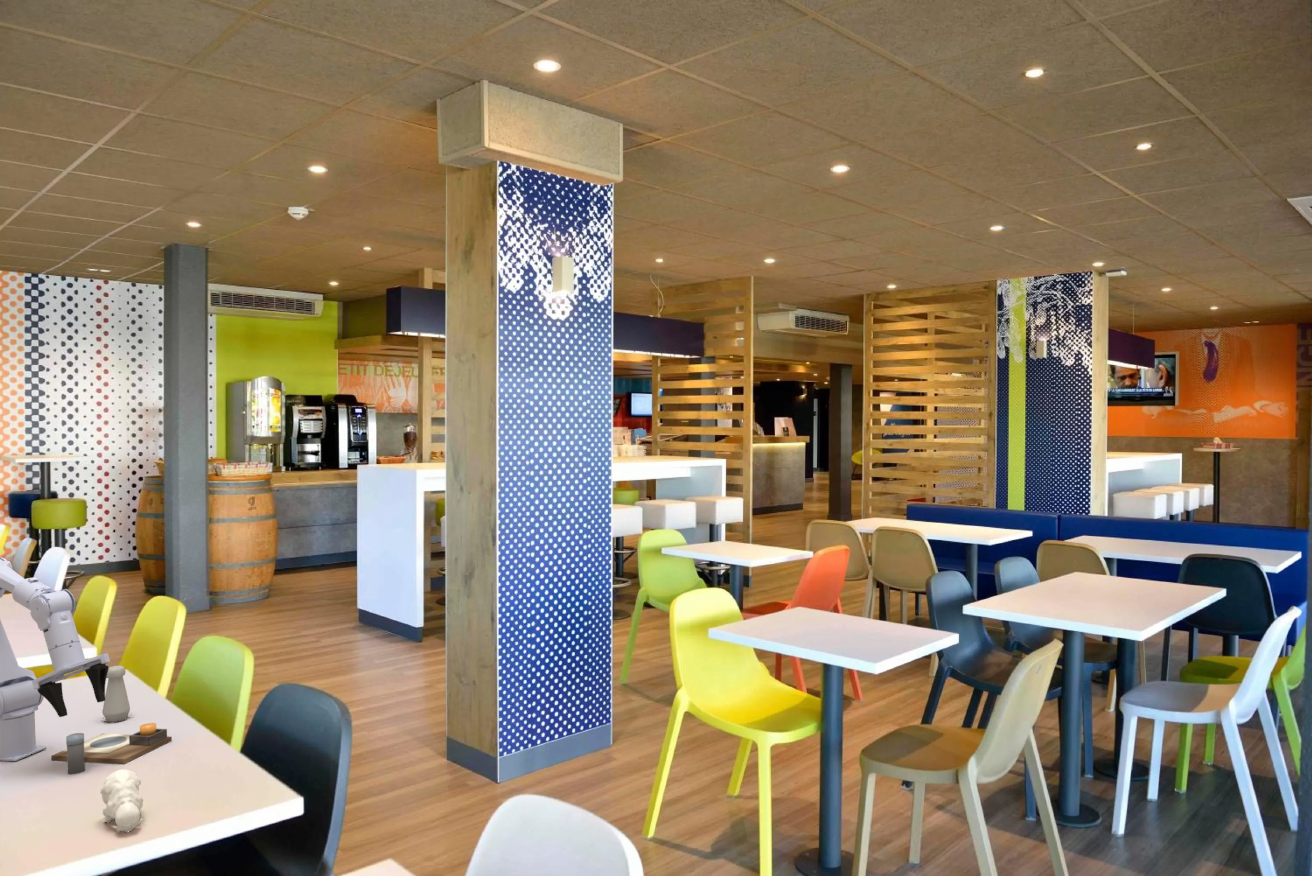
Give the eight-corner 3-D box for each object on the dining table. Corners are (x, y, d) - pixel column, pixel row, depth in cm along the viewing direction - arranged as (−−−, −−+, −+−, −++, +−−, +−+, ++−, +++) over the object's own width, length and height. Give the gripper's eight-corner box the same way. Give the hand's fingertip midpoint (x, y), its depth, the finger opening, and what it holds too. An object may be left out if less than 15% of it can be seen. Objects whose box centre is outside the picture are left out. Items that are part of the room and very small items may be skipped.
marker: (63, 774, 186) (62, 737, 186) (76, 768, 190) (74, 732, 189) (76, 774, 186) (75, 738, 186) (88, 769, 189) (87, 733, 189)
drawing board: (51, 760, 195) (50, 746, 195) (102, 737, 208) (102, 724, 208) (124, 764, 191) (123, 749, 191) (171, 741, 205) (171, 727, 205)
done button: (136, 736, 201) (136, 727, 201) (147, 731, 204) (147, 722, 204) (149, 737, 200) (148, 728, 200) (159, 732, 203) (159, 723, 203)
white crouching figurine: (138, 762, 168) (149, 787, 158) (139, 806, 168) (150, 834, 159) (98, 770, 164) (107, 797, 154) (100, 816, 165) (108, 845, 155)
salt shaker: (117, 724, 218) (115, 670, 218) (96, 723, 219) (95, 669, 219) (135, 716, 224) (134, 664, 224) (115, 715, 225) (114, 663, 225)
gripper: (17, 660, 186) (35, 724, 184) (91, 633, 189) (109, 696, 187) (36, 659, 193) (53, 721, 191) (106, 633, 195) (124, 694, 193)
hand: (82, 708), depth 189 cm, fingers open, 7 cm apart
